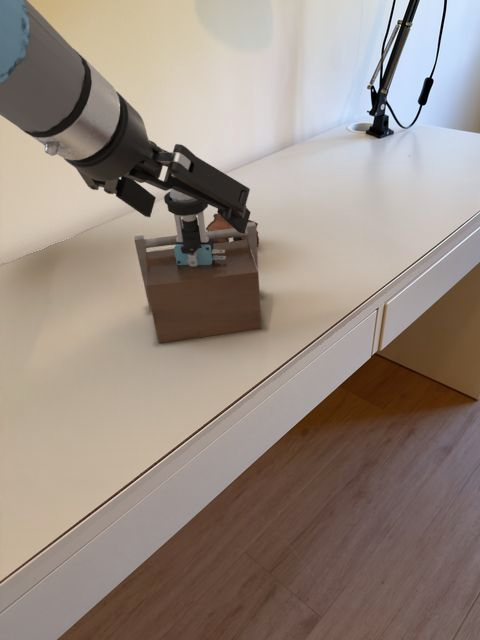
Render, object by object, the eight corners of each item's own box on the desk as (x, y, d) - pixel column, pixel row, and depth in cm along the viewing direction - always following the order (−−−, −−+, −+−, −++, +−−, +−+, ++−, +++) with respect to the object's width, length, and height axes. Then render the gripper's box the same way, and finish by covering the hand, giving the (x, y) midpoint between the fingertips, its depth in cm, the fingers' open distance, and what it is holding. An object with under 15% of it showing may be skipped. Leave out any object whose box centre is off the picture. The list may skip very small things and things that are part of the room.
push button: (228, 251, 70) (221, 178, 64) (222, 272, 66) (214, 196, 60) (180, 251, 71) (168, 179, 65) (171, 271, 67) (157, 196, 61)
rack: (149, 307, 77) (134, 235, 70) (258, 292, 79) (254, 221, 72) (150, 344, 70) (133, 269, 63) (269, 327, 72) (266, 252, 65)
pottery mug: (190, 259, 89) (199, 209, 87) (237, 267, 94) (246, 220, 93) (224, 270, 79) (235, 215, 78) (274, 278, 85) (286, 227, 83)
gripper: (-28, 149, 50) (107, 228, 70) (199, 181, 41) (280, 260, 61) (-6, 75, 50) (122, 174, 70) (225, 90, 41) (296, 198, 61)
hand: (196, 214), depth 66 cm, fingers open, 13 cm apart
